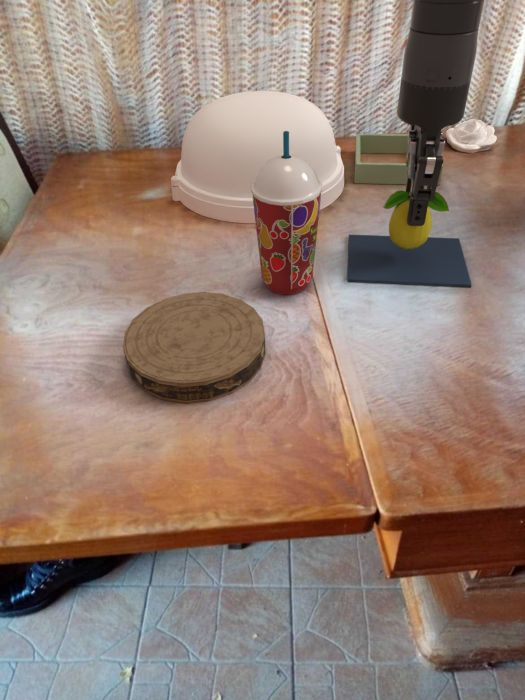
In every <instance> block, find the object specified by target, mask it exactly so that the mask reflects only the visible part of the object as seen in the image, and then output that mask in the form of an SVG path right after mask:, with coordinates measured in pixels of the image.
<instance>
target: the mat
mask: <svg viewBox="0 0 525 700" xmlns="http://www.w3.org/2000/svg"><path fill="white" fill-rule="evenodd" d="M347 251H348V252H347V278H346V279H347V280H346V281H347V282H348V283H368V284H369V283H370V284H389V285H390V284H393V285H411V286H412V285H414V286H432V287H433V286H434V287H454V288H455V287H458V288H472V281H471V278H470V274H469V270H468V267H467V263H466V258H465V255H464V252H463V247H462V244H461V241H460V238H459V237H430V236H428V239H427V240H426V242H425V243H423V244H422V245H421V246H419V247H417V248H413V249H408V250H405V249H403V248H401V247H399V246H397V245H396V244H394V243H393V241H392V240H391V238H390V236H389V235H376V234H375V235H372V234H348V247H347Z"/></svg>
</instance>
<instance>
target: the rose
mask: <svg viewBox="0 0 525 700" xmlns="http://www.w3.org/2000/svg"><path fill="white" fill-rule="evenodd" d="M445 138H446V142H447V144H449V146H451V148H452V149H454V150H455V151H458V152H460V153H468V154H473V153H478V152H482V151H488V150H490V149H491V148H492V147H493V146H494V145H495V143H496V142H497V140H498V137H497V135H496V134H495V127H494V126H493V125H490V124H487V125H486V124H485V122H484V121H482V120H481V119H475V118H470V119H467V120H465V121H462V122H459V123H457V124H455V125H454V127H450V128H448V129H447V130H446V131H445Z"/></svg>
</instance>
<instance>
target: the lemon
mask: <svg viewBox="0 0 525 700" xmlns="http://www.w3.org/2000/svg"><path fill="white" fill-rule="evenodd" d="M408 196H409V192H406V190H397V191H394V193H392V194H391V195H390V196H389V197H388V198H387V200H386V201H385V203H384V206H383V207H382V208H383V209H384V210H390V209H393V208H394V207H395V208H394V209H393V211H392V212H391V215H390V218H389V222H388V236H390V238H391V240H392V241H393V243H394V244H396V245H397V246H399V247H401V248H403V249H405V250H408V249H413V248H417V247H419V246H421V245H422V244H423V243H425V242H426V240H427V239H428V237H430V234H431V232H432V227H433V218H432V213H431V210H433V211H437V212H442V213H443V212H450V208H449V204H448V202H447V200H446V199H445V197H444V196H443V195H442V194H441V193H440V192H437V191H435V198H434V200H433V201H429V202H428V208H427V213H426V219H425V224H424V225H423V226H409V225H408V224H407V215H408V208H409V202H410V198H407V197H408ZM406 198H407V199H406Z"/></svg>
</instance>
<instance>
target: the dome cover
mask: <svg viewBox="0 0 525 700" xmlns="http://www.w3.org/2000/svg"><path fill="white" fill-rule="evenodd" d="M284 131H289V154H291V155H295V156H298V157H301V158H302V159H304V160H306V161H307V162H308V163H309V164H310V165H311V167H312V168H313V169H314V171H315V173H316V175H317V177H318V180H319V181H320V182H321V183H322V192H321V200H320V210H319V211H322V210H323V209H325V208H327V207H329V206H330V205H332V204H333V203H335V201H337V200H338V198H339V197H340V196H341V195H342V193H343V191H344V189H345V165H344V163H343V159H342V155H341V150H342V148H341V147H340V146H339V145H337V144H336V139H335V135H334V132H333V128H332V126H331V122H330V121H329V119H328V117H327V116H326V114H325V113H324V111H322V110H321V108H319V107H318V106H317V105H316V104H315V103H313V102H312V101H310V100H308V99H306V98H303V97H301V96H299V95H295V94H292V93H288V92H283V91H275V90H250V91H249V90H248V91H242V92H236V93H232V94H228V95H224V96H222V97H218V98H216V99H214V100H212V101H210V102H208V103H206V104H205V105H204V106H202V107H200V108H199V109H198V110H197V111H196V112H195V113H194V115H192V117H191V119H190V120H189V122H188V123H187V125H186V128H185V130H184V133H183V138H182V143H181V153H180V154H181V155H180V156H181V157H180V160H179V161H178V162H177V165H176V168H175V173H174V174H175V175H172V176H171V177H170V184H171V186H170V187H171V197H172V201H174V202H180V203H181V204H182V205H183V206H184V207H186V208H187V209H188V210H190V211H192V212H194V213H196V214H198V215H200V216H203V217H205V218H210V219H213V220H216V221H222V222H228V223H236V224H256V222H255V214H254V205H253V194H252V192H251V186H252V184H253V182H254V181H255V179H256V176H257V174H258V172H259V170H260V169H261V168H262V166H263V165H264V164H265V163H266V162H267V161H268V160H270V159H272V158H273V157H276V156H279V155H283V132H284Z"/></svg>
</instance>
